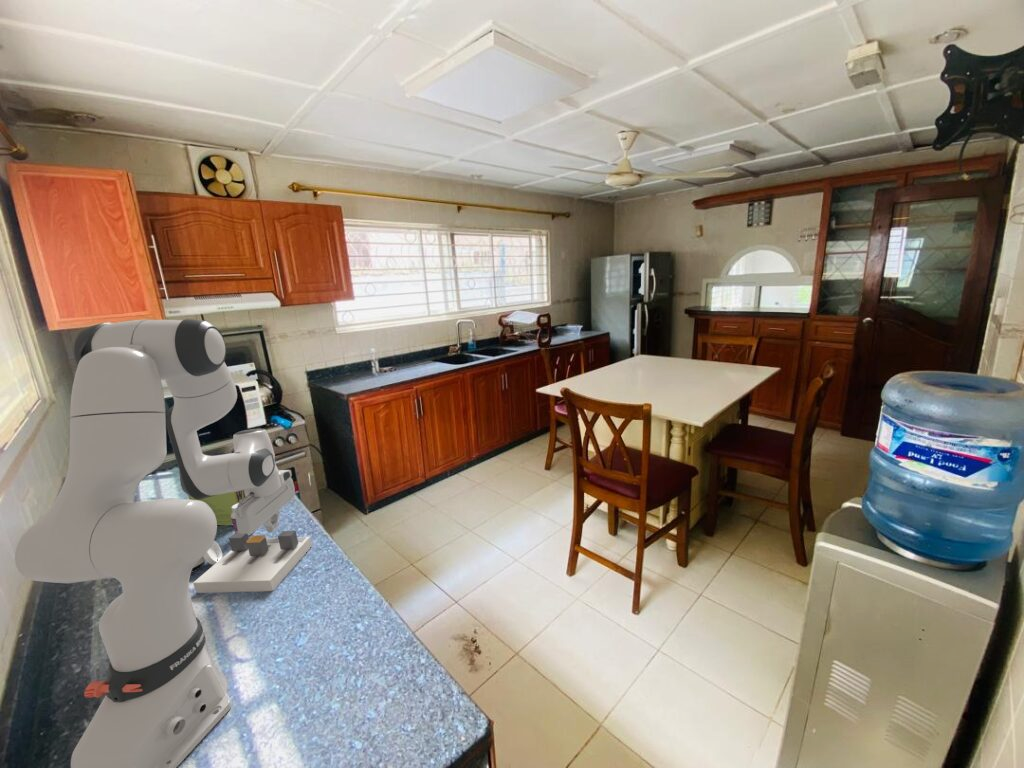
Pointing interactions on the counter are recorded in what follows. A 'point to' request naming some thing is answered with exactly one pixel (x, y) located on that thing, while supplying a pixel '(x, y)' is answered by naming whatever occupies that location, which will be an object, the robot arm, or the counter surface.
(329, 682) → the counter surface
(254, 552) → the breaker
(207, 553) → the spread jar
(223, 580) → the box
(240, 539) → the left breaker
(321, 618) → the counter surface
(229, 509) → the protein box
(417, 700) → the counter surface
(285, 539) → the block
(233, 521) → the pill bottle
